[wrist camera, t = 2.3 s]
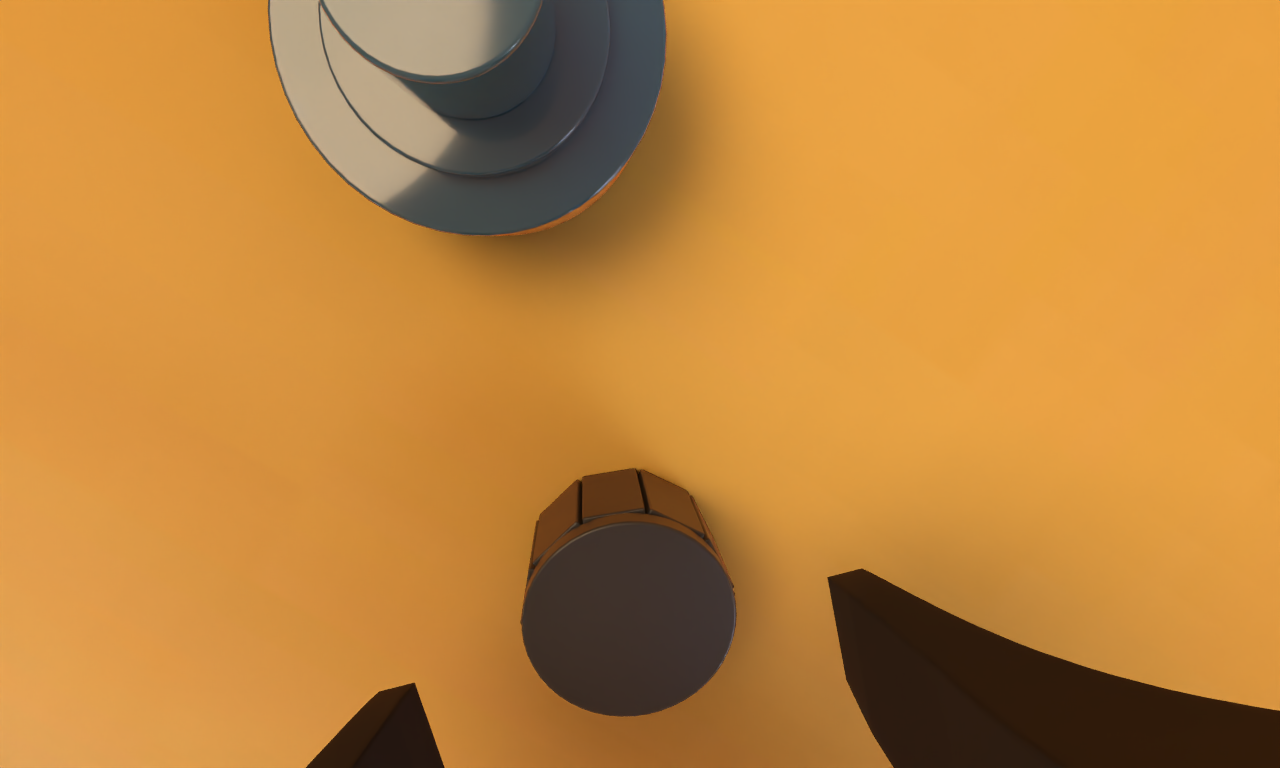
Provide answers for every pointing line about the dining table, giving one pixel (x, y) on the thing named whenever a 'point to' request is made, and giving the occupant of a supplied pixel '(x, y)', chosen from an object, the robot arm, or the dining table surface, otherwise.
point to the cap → (626, 596)
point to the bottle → (473, 101)
